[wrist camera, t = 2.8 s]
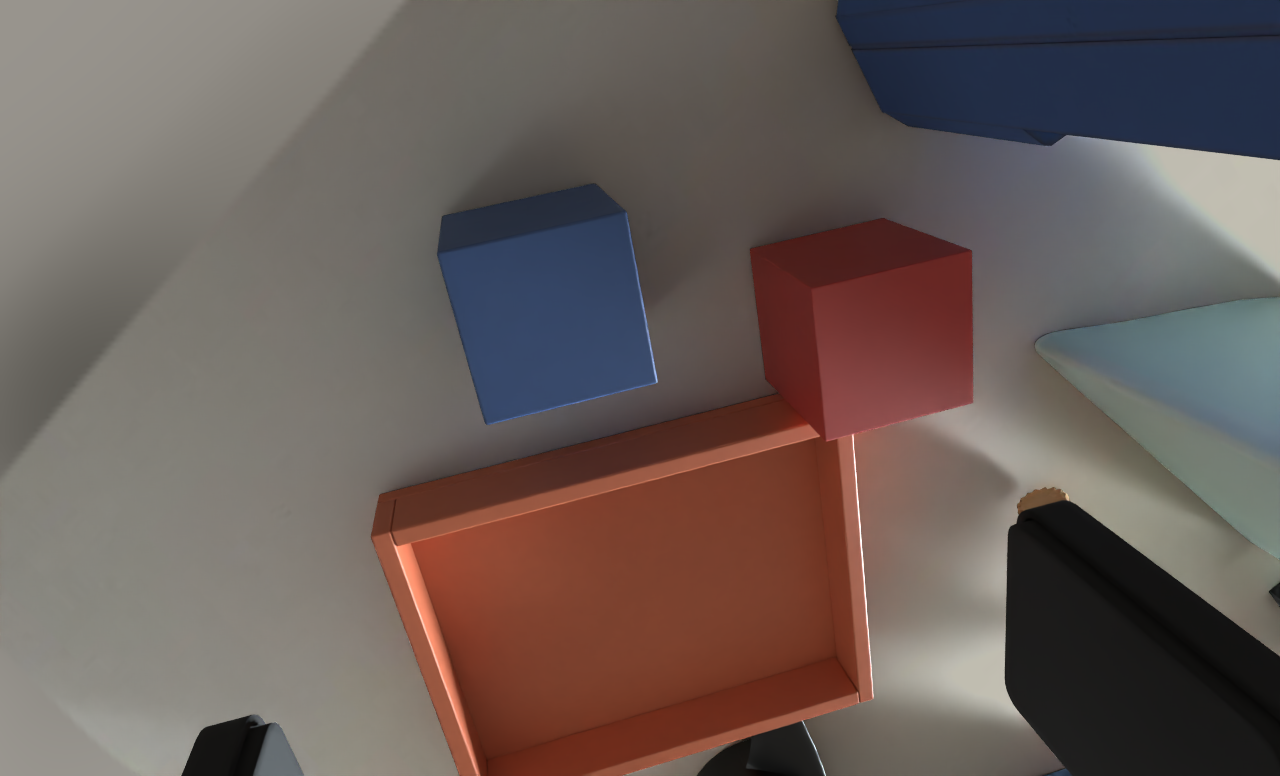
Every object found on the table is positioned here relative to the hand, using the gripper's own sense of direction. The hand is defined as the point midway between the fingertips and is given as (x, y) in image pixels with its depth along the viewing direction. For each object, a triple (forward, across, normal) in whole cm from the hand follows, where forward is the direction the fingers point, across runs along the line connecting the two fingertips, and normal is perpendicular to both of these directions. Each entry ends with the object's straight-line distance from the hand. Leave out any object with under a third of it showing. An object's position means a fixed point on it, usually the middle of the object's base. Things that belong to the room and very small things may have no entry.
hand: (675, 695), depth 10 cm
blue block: (+16, 0, -1) cm, 16 cm away
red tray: (+16, -1, +11) cm, 20 cm away
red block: (+16, -9, +2) cm, 19 cm away
